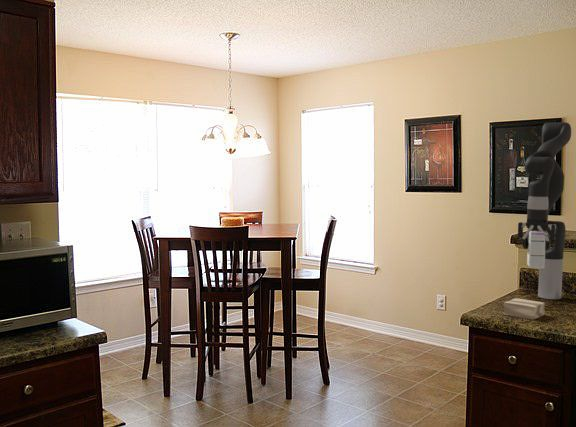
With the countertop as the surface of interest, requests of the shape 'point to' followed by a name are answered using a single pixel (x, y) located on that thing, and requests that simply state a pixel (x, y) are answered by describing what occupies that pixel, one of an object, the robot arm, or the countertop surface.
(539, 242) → the syrup box
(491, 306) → the countertop surface
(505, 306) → the maple block
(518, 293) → the countertop surface
